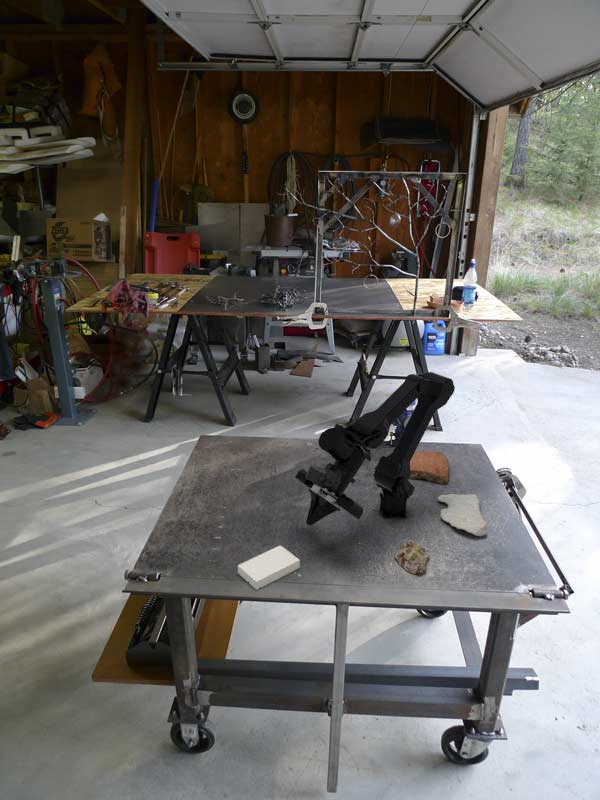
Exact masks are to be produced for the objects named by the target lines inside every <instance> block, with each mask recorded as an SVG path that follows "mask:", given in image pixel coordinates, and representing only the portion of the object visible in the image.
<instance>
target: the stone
mask: <svg viewBox="0 0 600 800" xmlns="http://www.w3.org/2000/svg"><path fill="white" fill-rule="evenodd" d="M437 501H438V502H441V503H445V504H446V506H447V508H442V509H441V510H440V516H439V517H440V518H441V519H442V520H443V521H444V522H445V523H449V525H450V526H452V527H453V528H456V529H457V530H464V531H465V532H467V533H469V534H471V535H474V536H476V537H483V536H485V535H487V523H486V521H485V519H484V517H483V516H482V512H481V511H480V507H481V502H480V500H479V499H478V496H477V494H475V493H471V494H456V493H450V494H440V495H439V496H438V497H437Z"/></svg>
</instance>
